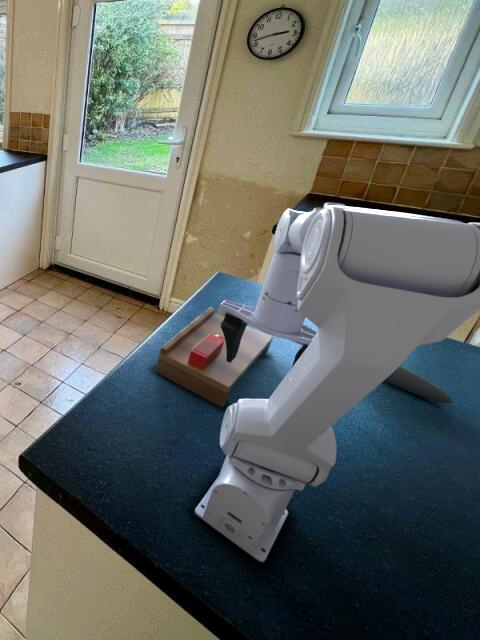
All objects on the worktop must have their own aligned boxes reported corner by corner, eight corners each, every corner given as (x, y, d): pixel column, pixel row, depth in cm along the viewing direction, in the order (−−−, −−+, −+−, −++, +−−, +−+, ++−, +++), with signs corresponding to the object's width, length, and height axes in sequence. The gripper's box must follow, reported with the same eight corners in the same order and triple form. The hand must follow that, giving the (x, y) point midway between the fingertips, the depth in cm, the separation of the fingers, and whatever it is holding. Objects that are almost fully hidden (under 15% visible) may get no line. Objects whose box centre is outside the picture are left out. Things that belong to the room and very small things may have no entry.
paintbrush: (451, 397, 72) (466, 375, 70) (447, 411, 70) (462, 388, 68) (314, 343, 87) (323, 323, 85) (306, 352, 84) (315, 332, 82)
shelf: (222, 407, 71) (231, 382, 68) (155, 371, 79) (160, 347, 77) (266, 354, 83) (275, 331, 81) (204, 328, 92) (211, 306, 89)
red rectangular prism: (202, 370, 73) (206, 357, 71) (187, 362, 74) (190, 350, 73) (224, 348, 78) (228, 336, 77) (210, 341, 80) (213, 329, 79)
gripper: (359, 306, 55) (323, 385, 61) (240, 269, 65) (218, 339, 71) (347, 326, 51) (309, 408, 57) (221, 283, 61) (200, 356, 67)
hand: (257, 371), depth 64 cm, fingers open, 7 cm apart
